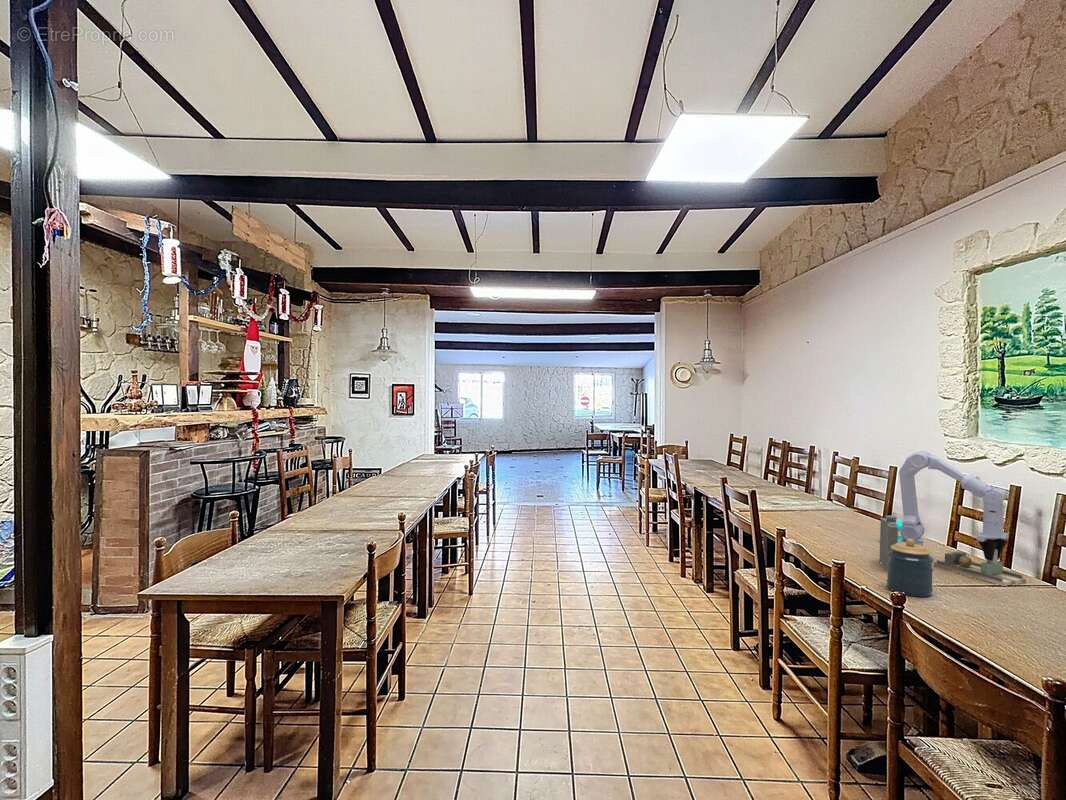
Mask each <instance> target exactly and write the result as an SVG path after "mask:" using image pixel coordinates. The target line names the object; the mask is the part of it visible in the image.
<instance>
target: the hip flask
mask: <svg viewBox="0 0 1066 800" xmlns="http://www.w3.org/2000/svg"><path fill="white" fill-rule="evenodd" d="M896 520H898V516H894V515H885V517H880V525H879V526H880V527H879V528H880V530H879V533H880V534H879V563H880V562H881V563H882V564H883V565H884V566H885V567H886V568H885V567H884V568H885V570H886V569H887V570H886V573H887V572H888V564H887V562H888V561H889V555H888V554H887V553H888V552H889V551H891V550H892V549H891V545H894V544H896V543H898V536H899V531H898V525H897V524H896ZM881 563H880V564H881ZM882 564H881V565H882ZM883 565H882V566H883Z"/></svg>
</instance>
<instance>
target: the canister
mask: <svg viewBox="0 0 1066 800" xmlns="http://www.w3.org/2000/svg"><path fill="white" fill-rule="evenodd" d="M891 549H892V550H891V551H889V552H888V553H887V554H888V555H889V561H888V562H887V564H888V573H887V578H886V585H887V588H888V589H889V590H890V589H893V590H894V591H899V592H904V593H905V594H906V595H905V596H909V597H916V596H921V597H920V598H926V596H928V597H930V596H932V592H933V590H934V589H933V588H934V587H933V571H934V568H933V566H932V563H934V558H933V557H932V556H931V555H930V554H931V550H929V549H927V547H925V546H924V545H923V546H921V545H918V544H915V541H914V540H913V539H907V540H906V543H903V542H900V543H896V544H894V545H891ZM894 591H893V592H894ZM910 595H911V596H910Z"/></svg>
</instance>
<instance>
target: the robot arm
mask: <svg viewBox="0 0 1066 800" xmlns="http://www.w3.org/2000/svg"><path fill="white" fill-rule="evenodd" d="M926 468H927V470H935V471H936V470H938V471H940V472H942V473H943V474H945V475H947V476H949V477H951V478H952V479H954V480H956V481H958V482H959V483H960V485H961V488H963V489H964V490H966V491H967V492H969V493H971V494H972V495H974V496H976V497H977V498H979V499H982V502H983V507H984V508H983V510H982V511H983V512H982V513H983V516H982V517H983V518H982V532H981V533H980V534H977V535H976V541H977V542H978V543H979V545H980V547H981V550H982V553H983V556H984V559H985V560H986V561H987V560H990V561H992V560H993V557H994V551H995V549H997V550H998V557H997V561H1000V557H1001V556H1002V552H1003V549H1004V548H1005V547H1006V545H1007V544H1008V539H1009V533H1008V532H1004V518H1005V517H1004V515H1005V514H1004V512H1005V511H1004V501H1005V499H1006V496H1005V493H1004V492H1003V491H1002V490H1001V489H999V487H995V486H994V485H993V484H988V483H987V482H985V481H983V480H981V476H978V475H974V474H969V475H967V474H965V473H963V472H961V471H960V470H959V469H957V468H955V467H954V466H953V465H951V464H949V463H948V462H947V461H944V460H942V459H941V458H939V457H937V456H936V455H934V454H931V453H930V452H927V451H925V450H921V451H918V452H913V454H911V455H909V456H908V457H906V459H905V461H904V463H903V464H902V465H901V468H900V469H899V471H898V475H899V484H900V495H901V503H902V515H903V516H902V520H901V521H902V528H901V530H900V531H899V532H900V536H902V537H901V541H900V542H903V543H906V540H907V539H913V540H914V541H915V544H918V545H921V546H924V539H923V538H922V536H923V535H924V534H925V528H924V526H923V524H922V522H921V518H920V516H919V507H918V498H917V487H916V477H915V475H917V474H918V473H919V472H920V471H921V470H924V469H926ZM900 542H898V543H900Z"/></svg>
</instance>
